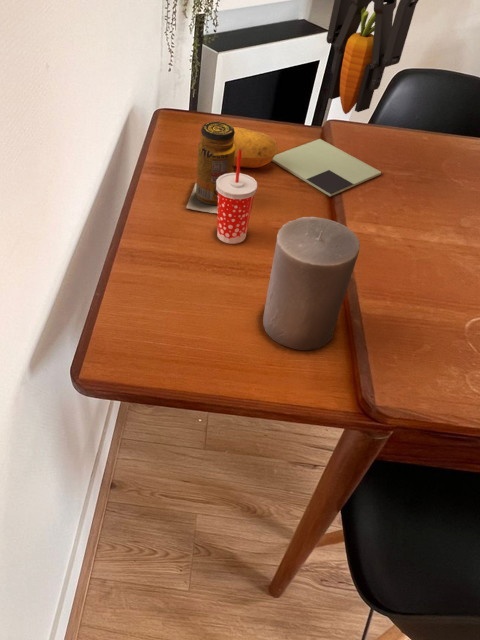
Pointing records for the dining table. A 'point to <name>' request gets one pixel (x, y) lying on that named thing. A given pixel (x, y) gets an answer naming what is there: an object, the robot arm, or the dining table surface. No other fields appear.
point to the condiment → (212, 164)
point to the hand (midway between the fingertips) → (348, 102)
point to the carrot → (356, 62)
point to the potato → (253, 148)
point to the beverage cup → (234, 204)
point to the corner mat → (325, 167)
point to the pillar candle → (309, 281)
